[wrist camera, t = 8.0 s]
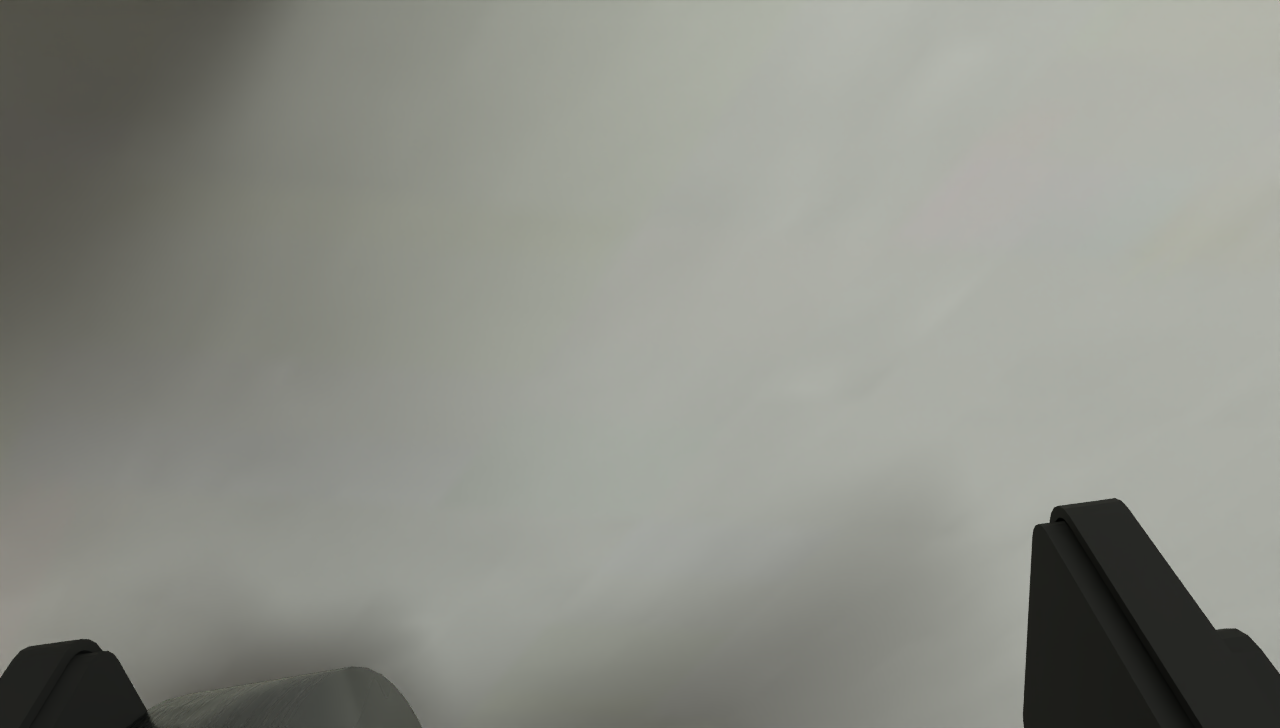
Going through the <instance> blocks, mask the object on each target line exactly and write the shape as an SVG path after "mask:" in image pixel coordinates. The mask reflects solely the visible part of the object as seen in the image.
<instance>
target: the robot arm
mask: <svg viewBox="0 0 1280 728" xmlns="http://www.w3.org/2000/svg"><path fill="white" fill-rule="evenodd" d="M146 712H147V710H146V708H145V706H144V704H143V703H142V701H141V699H140V697H139V696H138V694H137V692H136V690H135V689H134V687H133V685H132V683H131V681H130V680H129V678H128V676H127V674H126V673H125V671H124V669H123V667H122V666H121V664H120V662H119V660H118V659H117V658H116V656H115V655H114V654H113V653H111V652H109V651H102V650H101V648H100V647H99V646H98V645H97V643H95V642H93V641H91V640H89V639H80V640H72V641H65V642H58V643H50V644H43V645H36V646H29V647H27V648H25V649H23V650H21V651H20V652H19V653H18V654H17V655H16V657H15V658H14V659H13V660H12V661H11V663H10V664H9V666H8V667H7V669H6V670H5V672H4V673H3V675H2V676H1V678H0V728H127V727H128V726H129V725H130V724H132V723H133V722H134V721H135V720H137V719H138V718H139V717H140V716H142V715H143V714H144V713H146ZM1023 722H1024V728H1280V674H1279V672H1278V671H1277V670H1276V669H1275V667H1274V666H1273V665H1272V663H1271V662H1270V661H1269V659H1268V658H1267V657H1266V655H1265V654H1264V653H1263V651H1262V650H1261V649H1260V648H1259V647H1258V646H1257V645H1256V643H1255V642H1254V641H1253V640H1252V639H1251V638H1250V637H1249V636H1248V635H1246V634H1245V633H1243V632H1241V631H1239V630H1238V629H1219V630H1215V628H1214V627H1213V626H1212V624H1211V623H1210V621H1209V620H1208V619H1207V617H1206V616H1205V614H1204V613H1203V612H1202V610H1201V609H1200V608H1199V606H1198V605H1197V603H1196V602H1195V601H1194V599H1193V598H1192V596H1191V595H1190V594H1189V592H1188V591H1187V589H1186V588H1185V587H1184V585H1183V584H1182V582H1181V581H1180V580H1179V578H1178V577H1177V576H1176V574H1175V573H1174V571H1173V570H1172V569H1171V567H1170V566H1169V564H1168V563H1167V562H1166V560H1165V559H1164V557H1163V556H1162V555H1161V553H1160V552H1159V550H1158V549H1157V548H1156V546H1155V545H1154V544H1153V542H1152V541H1151V539H1150V538H1149V537H1148V535H1147V534H1146V532H1145V531H1144V530H1143V528H1142V527H1141V525H1140V524H1139V523H1138V521H1137V520H1136V518H1135V517H1134V516H1133V514H1132V513H1131V511H1130V510H1129V509H1128V507H1127V506H1126V505H1125V504H1124V503H1123V502H1122V501H1121V500H1118V499H1116V498H1113V499H1106V500H1099V501H1091V502H1084V503H1077V504H1069V505H1062V506H1057V507H1054V509H1053V511H1052V513H1051V517H1050V523H1045V524H1038V525H1036V526H1035V528H1034V530H1033V536H1032V555H1031V574H1030V593H1029V612H1028V631H1027V650H1026V669H1025V688H1024V707H1023Z"/></svg>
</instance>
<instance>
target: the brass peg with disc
mask: <svg viewBox="0 0 1280 728" xmlns="http://www.w3.org/2000/svg"><path fill="white" fill-rule="evenodd" d="M127 728H422V727H421V725H420V723H419V721H418V719H417V717H416V716H415V714H414V712H413V710H412V709H411V707H410V705H409V704H408V702H407V701H406V699H405V698H404V697H403V696H402V694H401V693H400V692H399V690H398V689H397V688H396V687H395V686H394V685H393V684H392V683H391V682H390V681H389V680H387V679H386V678H385V677H384V676H383V675H382V674H379V673H377V672H375V671H373V670H371V669H369V668H362V667H348V668H342V669H336V670H330V671H324V672H318V673H312V674H306V675H300V676H294V677H288V678H282V679H276V680H271V681H265V682H259V683H253V684H247V685H241V686H235V687H229V688H223V689H217V690H211V691H205V692H199V693H193V694H188V695H184V696H180V697H177V698H173V699H169V700H166V701H164V702H162V703H160V704H158V705H156V706H154V707H153V708H151V709H149V710H147V712H146V713H144V714H143V715H142V716H140V717H139V718H138V719H137V720H135V721H134V722H133V723H132V724H130V725H129V726H128V727H127Z"/></svg>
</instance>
